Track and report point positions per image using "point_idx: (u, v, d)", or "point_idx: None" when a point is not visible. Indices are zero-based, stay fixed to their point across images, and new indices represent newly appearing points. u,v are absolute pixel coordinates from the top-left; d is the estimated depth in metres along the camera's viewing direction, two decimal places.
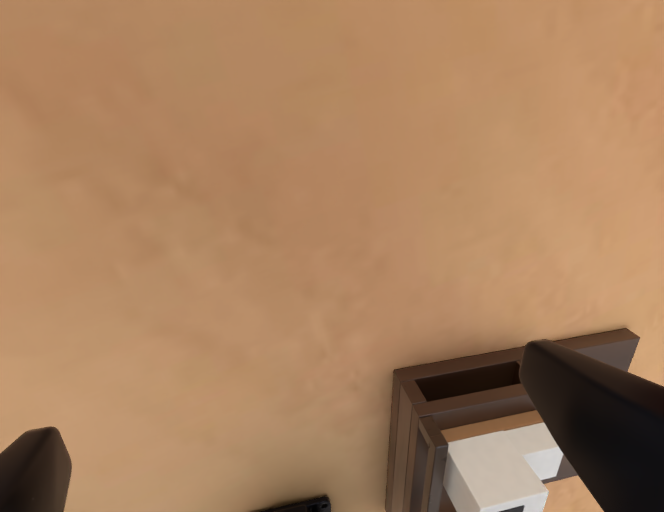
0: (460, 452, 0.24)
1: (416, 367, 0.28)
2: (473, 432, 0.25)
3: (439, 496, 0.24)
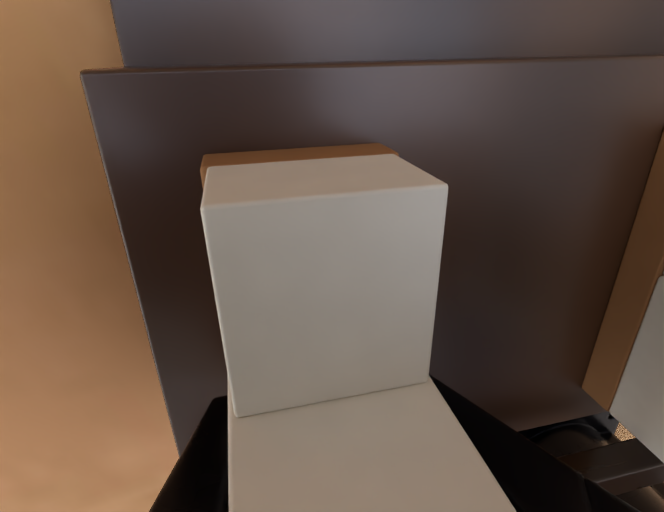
0: None
1: None
2: None
3: None
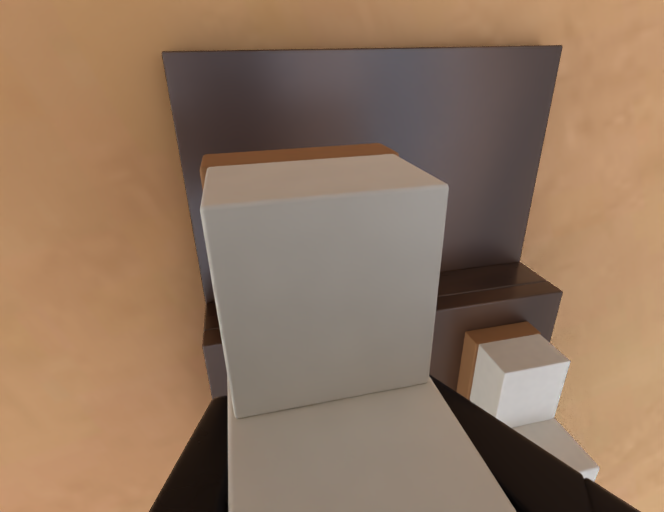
0: None
1: None
2: None
3: None
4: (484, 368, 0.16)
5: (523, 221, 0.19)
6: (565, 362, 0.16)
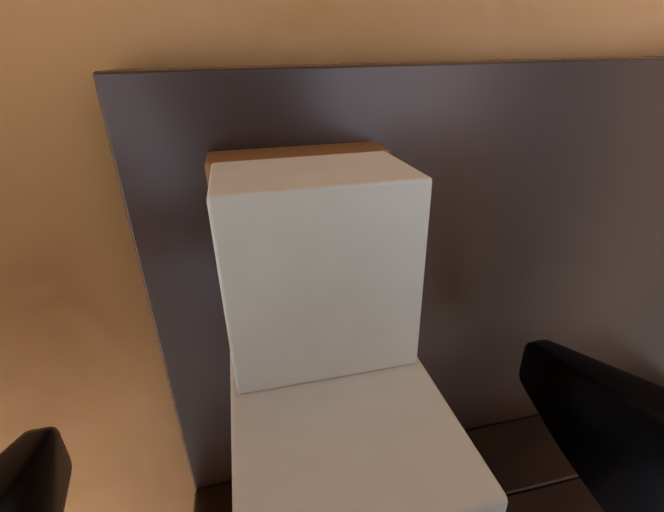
0: None
1: None
2: None
3: None
4: None
5: None
6: None
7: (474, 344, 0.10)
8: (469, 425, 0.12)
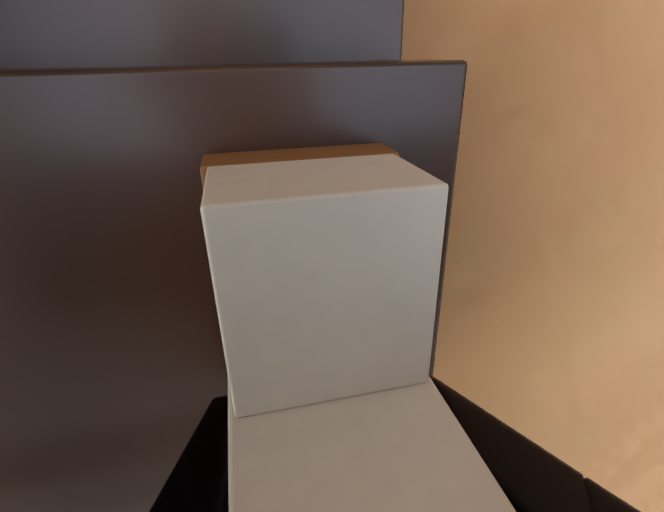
0: None
1: None
2: None
3: None
4: None
5: None
6: (430, 187, 0.05)
7: None
8: (40, 60, 0.08)
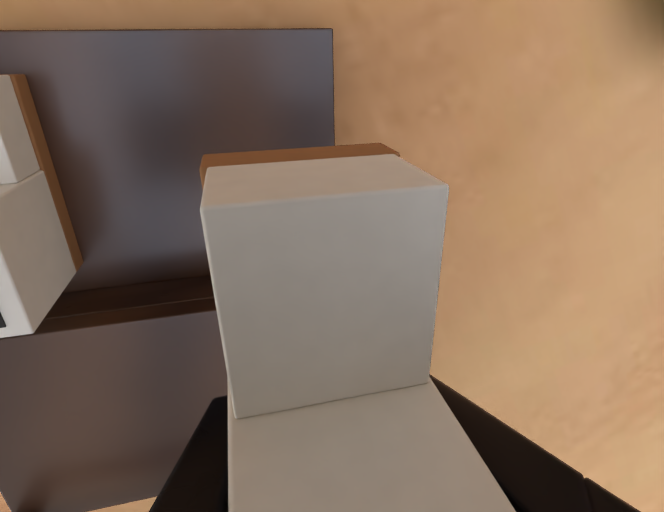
0: None
1: None
2: None
3: None
4: None
5: None
6: (431, 187, 0.05)
7: (147, 214, 0.17)
8: (168, 276, 0.18)
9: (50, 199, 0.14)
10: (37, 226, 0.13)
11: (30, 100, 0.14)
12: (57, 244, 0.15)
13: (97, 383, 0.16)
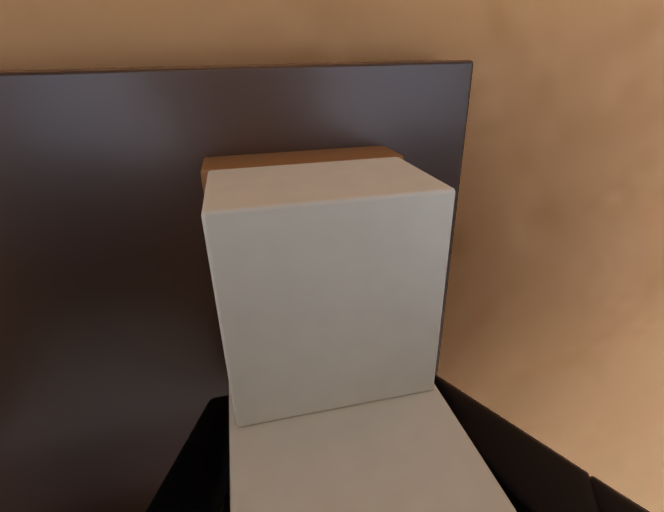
0: None
1: None
2: None
3: None
4: None
5: None
6: (436, 191, 0.05)
7: (74, 435, 0.08)
8: None
9: None
10: None
11: None
12: None
13: None
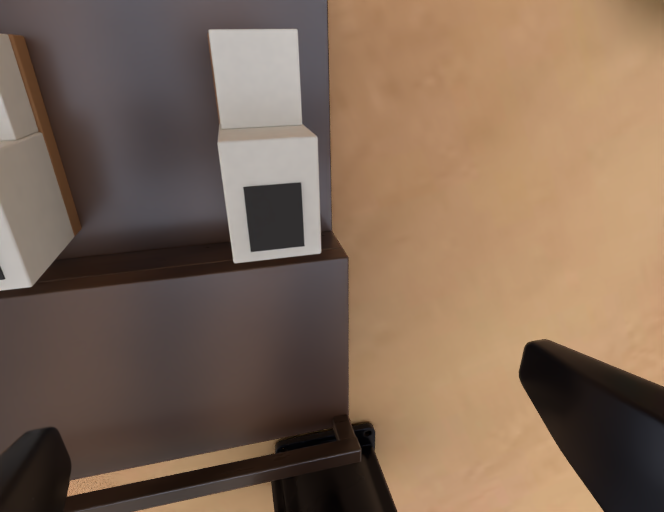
0: None
1: None
2: None
3: (108, 506, 0.17)
4: None
5: (326, 187, 0.19)
6: (290, 29, 0.13)
7: (145, 180, 0.17)
8: (165, 244, 0.18)
9: (48, 161, 0.15)
10: (35, 184, 0.14)
11: (29, 62, 0.14)
12: (56, 206, 0.15)
13: (95, 345, 0.16)
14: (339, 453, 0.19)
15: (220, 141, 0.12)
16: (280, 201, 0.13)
